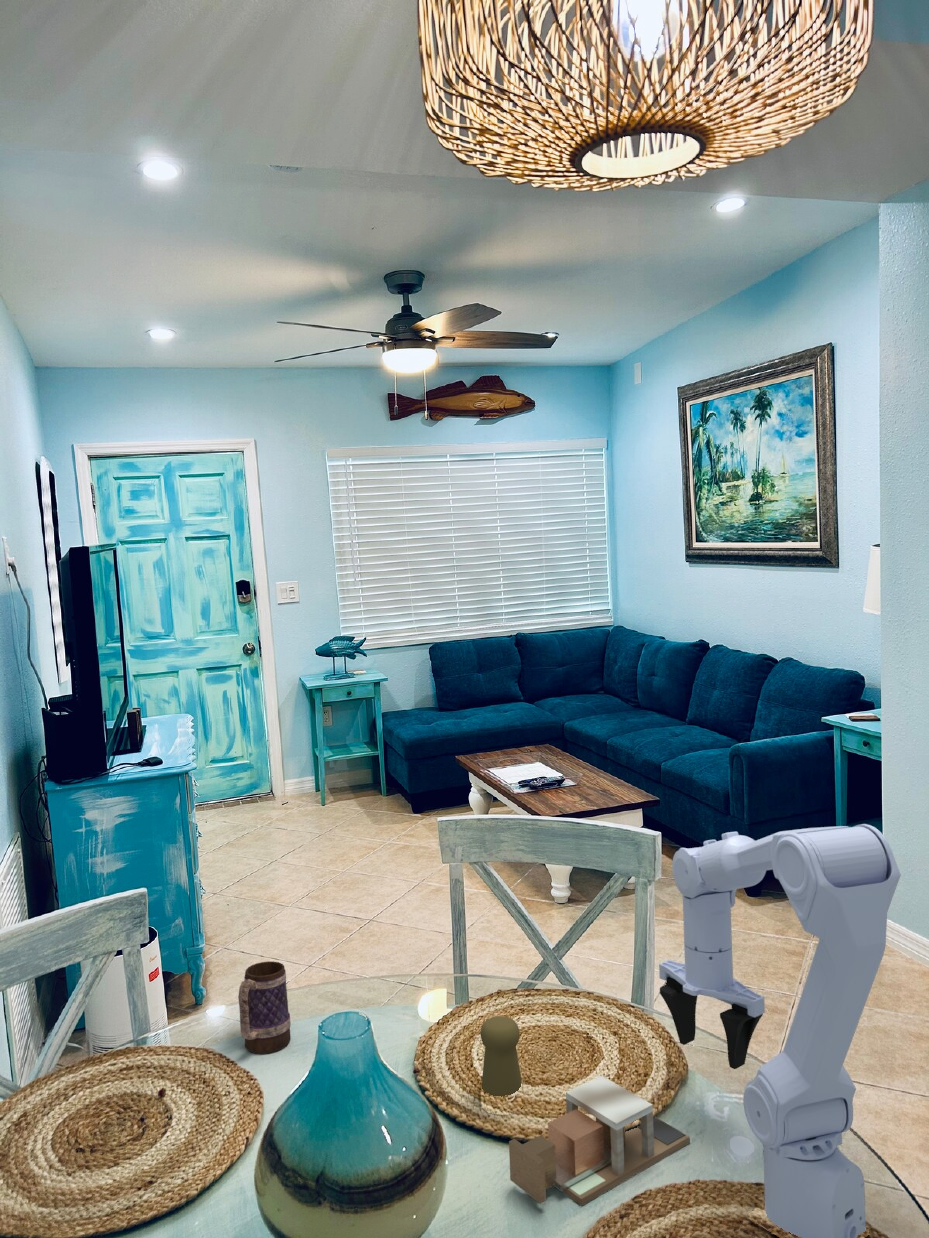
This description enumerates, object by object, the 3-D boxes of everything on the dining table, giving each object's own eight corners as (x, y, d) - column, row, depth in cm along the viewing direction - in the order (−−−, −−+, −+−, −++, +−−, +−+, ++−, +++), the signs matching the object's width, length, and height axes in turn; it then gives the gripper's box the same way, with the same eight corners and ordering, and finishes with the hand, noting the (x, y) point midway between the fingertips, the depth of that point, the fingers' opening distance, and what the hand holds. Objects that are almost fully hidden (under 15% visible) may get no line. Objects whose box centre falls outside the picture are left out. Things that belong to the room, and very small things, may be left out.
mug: (260, 1029, 142) (257, 955, 141) (299, 1035, 139) (296, 959, 139) (222, 1061, 132) (219, 981, 132) (263, 1068, 130) (260, 986, 129)
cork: (508, 1120, 114) (505, 1035, 114) (470, 1105, 118) (467, 1023, 118) (534, 1098, 119) (531, 1017, 119) (497, 1085, 123) (494, 1006, 122)
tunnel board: (689, 1142, 108) (687, 1087, 108) (581, 1206, 97) (579, 1144, 97) (634, 1110, 115) (633, 1058, 115) (528, 1166, 105) (526, 1108, 105)
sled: (634, 1151, 105) (632, 1112, 105) (540, 1203, 96) (539, 1161, 96) (602, 1131, 109) (601, 1094, 109) (510, 1179, 101) (508, 1139, 101)
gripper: (641, 935, 113) (645, 1041, 113) (736, 970, 101) (740, 1088, 102) (678, 922, 117) (681, 1024, 118) (773, 954, 106) (777, 1068, 106)
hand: (711, 1053), depth 110 cm, fingers open, 7 cm apart
